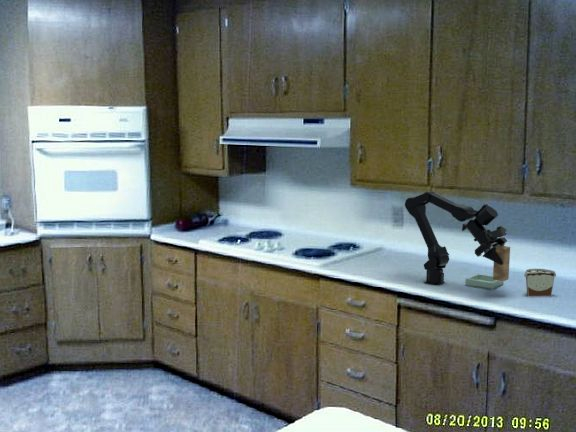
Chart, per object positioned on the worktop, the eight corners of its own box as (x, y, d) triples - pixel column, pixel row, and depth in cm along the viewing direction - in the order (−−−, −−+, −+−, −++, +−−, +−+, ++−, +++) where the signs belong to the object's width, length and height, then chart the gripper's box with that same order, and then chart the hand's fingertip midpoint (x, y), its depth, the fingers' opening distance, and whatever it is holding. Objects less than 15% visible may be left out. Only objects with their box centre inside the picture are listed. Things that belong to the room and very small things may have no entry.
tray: (465, 285, 273) (465, 278, 272) (477, 280, 282) (477, 273, 281) (491, 290, 265) (491, 283, 265) (503, 284, 274) (503, 278, 274)
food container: (548, 292, 262) (549, 268, 261) (555, 296, 256) (556, 271, 255) (518, 292, 262) (519, 268, 260) (524, 296, 256) (525, 272, 254)
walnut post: (492, 279, 256) (494, 247, 254) (497, 277, 259) (499, 245, 257) (503, 281, 253) (505, 248, 251) (508, 279, 256) (510, 246, 254)
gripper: (483, 222, 248) (510, 255, 242) (503, 217, 262) (529, 247, 256) (463, 240, 254) (489, 272, 249) (484, 234, 268) (508, 264, 263)
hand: (504, 263), depth 254 cm, fingers closed on walnut post, 4 cm apart
